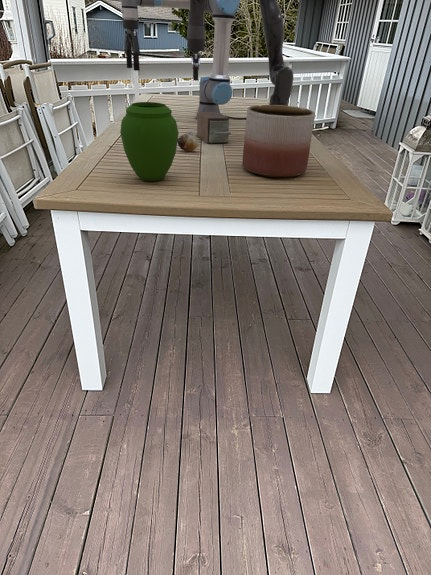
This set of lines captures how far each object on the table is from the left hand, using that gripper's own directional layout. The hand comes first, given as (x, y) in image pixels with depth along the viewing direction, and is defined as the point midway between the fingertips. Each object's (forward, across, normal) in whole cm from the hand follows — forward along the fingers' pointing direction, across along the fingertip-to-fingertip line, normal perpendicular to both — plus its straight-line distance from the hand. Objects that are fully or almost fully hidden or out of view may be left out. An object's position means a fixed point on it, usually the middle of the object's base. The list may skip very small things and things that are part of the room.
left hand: (133, 69), depth 208 cm
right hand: (+1, +38, +19) cm, 42 cm away
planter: (+28, +94, +30) cm, 102 cm away
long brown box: (+28, +38, +28) cm, 55 cm away
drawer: (+27, +43, +28) cm, 58 cm away
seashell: (+28, +58, +8) cm, 64 cm away
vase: (+27, +90, -19) cm, 96 cm away
